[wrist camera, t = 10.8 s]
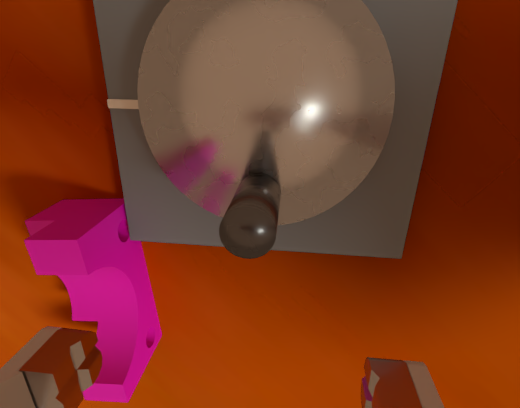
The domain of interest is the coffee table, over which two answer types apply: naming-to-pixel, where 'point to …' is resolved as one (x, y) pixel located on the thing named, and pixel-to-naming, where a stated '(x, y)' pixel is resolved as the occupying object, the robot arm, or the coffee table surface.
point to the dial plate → (328, 222)
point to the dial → (265, 108)
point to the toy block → (101, 285)
